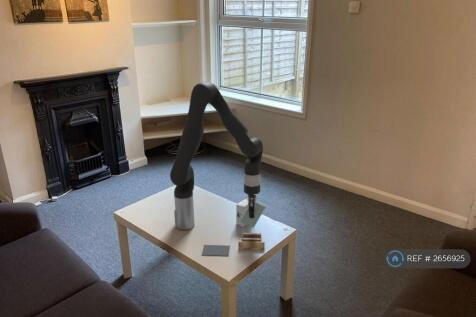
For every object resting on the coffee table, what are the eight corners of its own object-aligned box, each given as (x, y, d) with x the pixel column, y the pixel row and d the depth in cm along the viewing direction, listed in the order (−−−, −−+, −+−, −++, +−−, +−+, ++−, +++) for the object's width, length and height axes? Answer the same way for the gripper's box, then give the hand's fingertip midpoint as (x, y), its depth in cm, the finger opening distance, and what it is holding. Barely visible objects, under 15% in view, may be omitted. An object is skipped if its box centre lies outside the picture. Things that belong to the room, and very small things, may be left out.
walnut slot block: (241, 243, 178) (241, 239, 177) (242, 237, 184) (242, 232, 183) (261, 244, 178) (261, 239, 177) (261, 237, 183) (261, 233, 182)
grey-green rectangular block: (240, 221, 176) (251, 200, 172) (240, 218, 178) (252, 198, 174) (253, 227, 177) (265, 207, 173) (253, 224, 179) (265, 204, 175)
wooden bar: (238, 249, 174) (238, 243, 173) (238, 248, 175) (238, 241, 174) (264, 250, 173) (264, 243, 172) (264, 248, 175) (264, 242, 174)
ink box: (245, 217, 202) (245, 197, 197) (253, 220, 199) (253, 200, 195) (235, 224, 195) (235, 204, 191) (243, 227, 192) (243, 206, 188)
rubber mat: (201, 255, 170) (201, 254, 170) (204, 245, 177) (204, 244, 177) (228, 256, 169) (228, 255, 169) (229, 246, 177) (229, 245, 176)
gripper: (244, 176, 177) (244, 209, 183) (243, 188, 164) (242, 223, 170) (260, 176, 177) (259, 209, 183) (260, 188, 164) (259, 224, 170)
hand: (251, 216), depth 176 cm, fingers closed on grey-green rectangular block, 2 cm apart
